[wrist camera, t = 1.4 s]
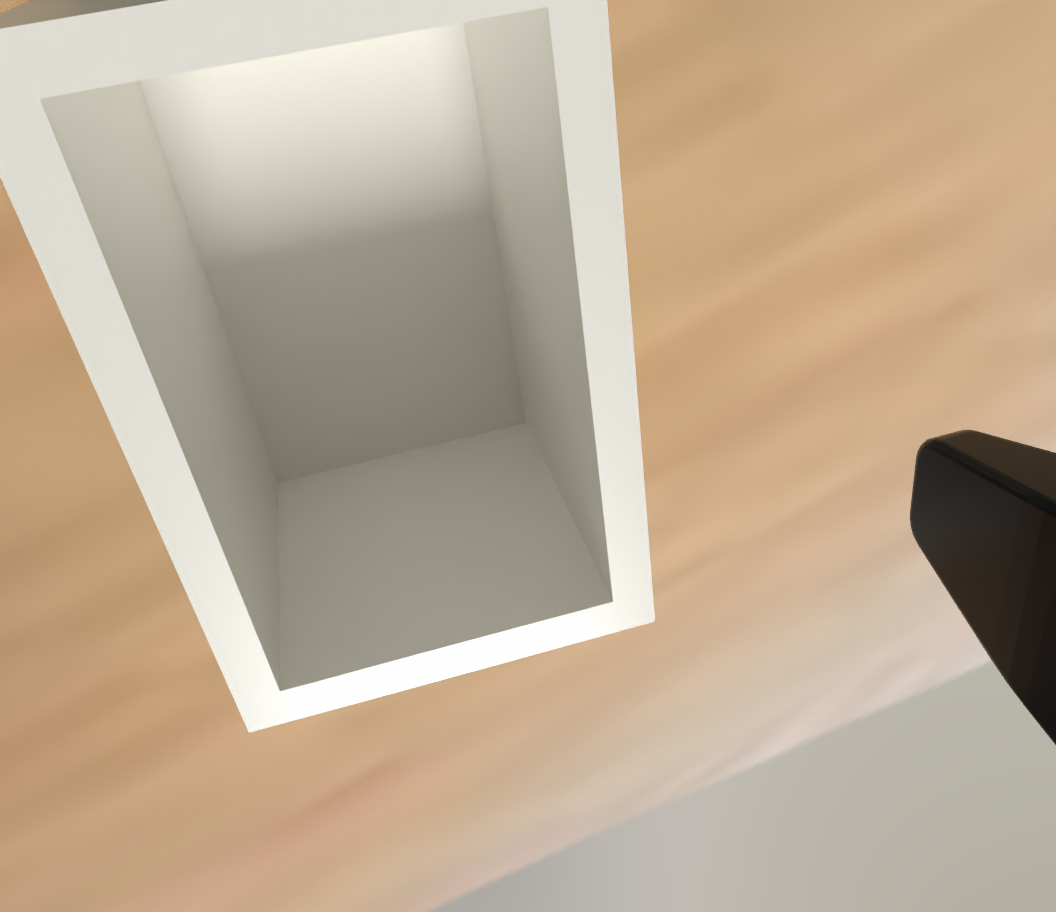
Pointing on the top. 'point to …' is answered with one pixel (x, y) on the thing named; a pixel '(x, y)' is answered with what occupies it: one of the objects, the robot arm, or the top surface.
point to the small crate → (348, 319)
